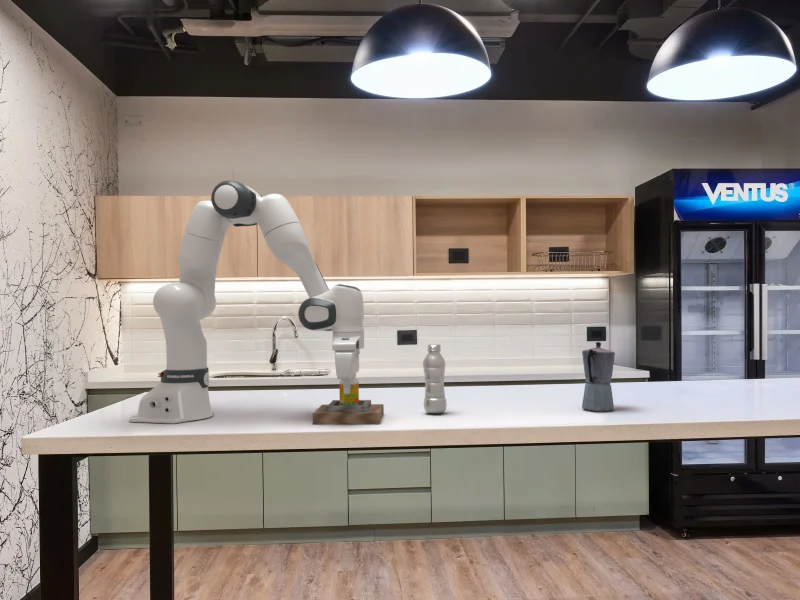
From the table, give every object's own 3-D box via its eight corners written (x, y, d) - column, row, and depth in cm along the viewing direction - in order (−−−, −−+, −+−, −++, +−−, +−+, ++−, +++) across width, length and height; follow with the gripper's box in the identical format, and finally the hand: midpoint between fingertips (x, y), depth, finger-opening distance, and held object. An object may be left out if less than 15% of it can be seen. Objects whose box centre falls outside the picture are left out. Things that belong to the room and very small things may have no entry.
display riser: (312, 424, 152) (312, 407, 152) (322, 414, 166) (322, 399, 166) (379, 424, 151) (379, 407, 151) (383, 414, 165) (383, 399, 165)
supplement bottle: (343, 408, 155) (342, 373, 155) (337, 405, 160) (336, 371, 160) (361, 406, 157) (361, 371, 157) (355, 404, 162) (354, 370, 162)
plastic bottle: (445, 415, 161) (444, 345, 161) (422, 415, 162) (420, 345, 163) (448, 411, 167) (447, 344, 168) (425, 411, 169) (424, 344, 169)
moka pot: (620, 407, 170) (619, 341, 171) (609, 415, 157) (607, 344, 158) (588, 405, 176) (587, 340, 176) (574, 413, 163) (573, 343, 163)
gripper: (342, 340, 169) (343, 386, 169) (331, 344, 149) (331, 397, 148) (363, 340, 169) (364, 386, 169) (355, 344, 148) (355, 397, 148)
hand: (348, 391), depth 158 cm, fingers closed on supplement bottle, 5 cm apart
